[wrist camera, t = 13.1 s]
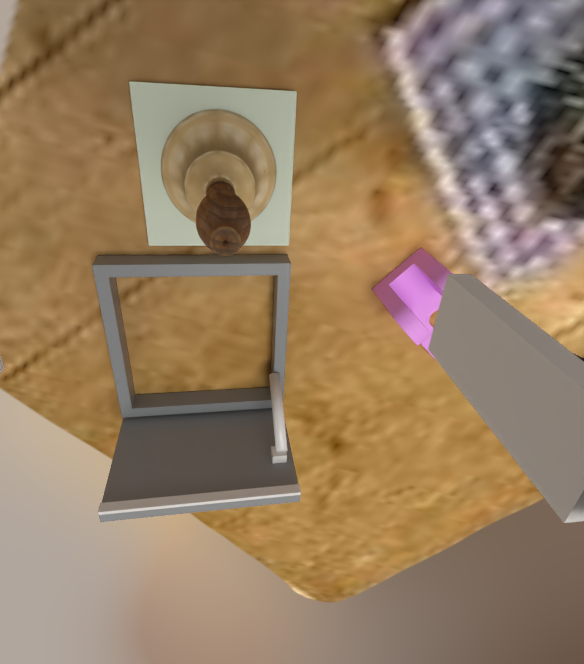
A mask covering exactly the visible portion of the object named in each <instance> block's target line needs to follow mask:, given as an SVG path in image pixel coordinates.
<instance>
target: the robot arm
mask: <svg viewBox="0 0 584 664" xmlns="http://www.w3.org/2000/svg"><path fill="white" fill-rule="evenodd" d="M428 350H429V351H430V353H431V354H432V355H433V356H434V358H435V359H436V360H437V361H438V363H439V364H440V365H441V367H442V368H443V369H444V370H445V372H446V373H447V374H448V376H449V377H450V378H451V379H452V381H453V382H454V383H455V384H456V386H457V387H458V388H459V390H460V391H461V392H462V393H463V395H464V396H465V397H466V399H467V400H468V401H469V402H470V404H471V405H472V406H473V407H474V409H475V410H476V411H477V413H478V414H479V415H480V416H481V418H482V419H483V420H484V422H485V423H486V424H487V425H488V427H489V428H490V429H491V430H492V432H493V433H494V434H495V436H496V437H497V438H498V439H499V441H500V442H501V443H502V445H503V446H504V447H505V448H506V450H507V451H508V452H509V453H510V455H511V456H512V457H513V459H514V460H515V461H516V462H517V464H518V465H519V466H520V468H521V469H522V470H523V471H524V473H525V474H526V475H527V476H528V478H529V479H530V480H531V482H532V483H533V484H534V485H535V487H536V488H537V489H538V491H539V492H540V493H541V494H542V496H543V497H544V498H545V499H546V501H547V502H548V503H549V505H550V506H551V507H552V508H553V509H554V511H555V512H556V514H557V515H558V516H559V517H560V519H561V520H562V521H563V522H564V523H569V522H577V521H584V359H583V358H581V357H579V356H578V355H576V354H574V353H572V352H571V351H569V350H568V349H567V348H565V347H564V346H563V345H562V344H560V343H559V342H558V341H556V340H555V339H554V338H553V337H551V336H550V335H549V334H547V333H546V332H545V331H544V330H542V329H541V328H540V327H538V326H537V325H536V324H535V323H533V322H532V321H531V320H529V319H528V318H527V317H525V316H524V315H523V314H522V313H520V312H519V311H518V310H516V309H515V308H514V307H513V306H511V305H510V304H509V303H507V302H506V301H505V300H504V299H502V298H501V297H500V296H498V295H497V294H496V293H495V292H493V291H492V290H491V289H489V288H488V287H487V286H486V285H484V284H483V283H482V282H480V281H479V280H478V279H476V278H475V277H474V276H473V275H471V274H448V275H447V279H446V283H445V286H444V290H443V294H442V298H441V302H440V305H439V309H438V313H437V317H436V321H435V325H434V328H433V332H432V336H431V340H430V344H429V348H428ZM4 368H5V366H4V363H3V361H2V358H1V355H0V373H1V372H2V371H3V369H4Z"/></svg>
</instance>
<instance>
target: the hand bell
mask: <svg viewBox="0 0 584 664" xmlns="http://www.w3.org/2000/svg"><path fill="white" fill-rule="evenodd" d="M161 175H162V181H163V185H164V188H165V190H166V192H167V195H168V196H169V198H170V200H171V201H172V203H173V204H174V206H175V207H176V208H177V209H178V210H179V211H180V212H181V213H182V214H183V215H184V216H185V217H187V218H188V219H190V220H191V221H193V222H195V223H196V229H197V232H198V235H199V237H200V239H201V240H202V241H203V243H204V244H205V245H206V246H207V247H208V248H210V249H211V250H213V251H214V252H215V253H216V254H218V255H221V256H231V255H233V254H235V253H236V252H237V251H238V250H239V248H241V247H242V246H243V245H244V244H245V242H246V241H247V239H248V237H249V234H250V230H251V221H252V220H254V219H255V218H256V217H257V216H258V215H259V214H260V213H261V212H262V211H263V210H264V209H265V208H266V206H267V205H268V203H269V201H270V199H271V197H272V195H273V192H274V189H275V184H276V175H277V171H276V161H275V157H274V153H273V151H272V148H271V146H270V144H269V142H268V140H267V139H266V137H265V136H264V134H263V133H262V132H261V131H260V130H259V128H257V127H256V126H255V125H254V124H253V123H252V122H251V121H249V120H248V119H246V118H245V117H243V116H241V115H239V114H237V113H234V112H231V111H226V110H218V109H215V110H204V111H200V112H198V113H194V114H192V115H190V116H188V117H187V118H185V119H184V120H182V121H181V122H180V123H179V124H178V125H177V126H176V127H175V128H174V129H173V131H172V132H171V133H170V135H169V136H168V138H167V140H166V142H165V145H164V148H163V151H162V156H161Z"/></svg>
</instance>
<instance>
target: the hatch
mask: <svg viewBox="0 0 584 664" xmlns="http://www.w3.org/2000/svg"><path fill="white" fill-rule="evenodd" d="M92 267H93V272H94V277H95V282H96V287H97V292H98V297H99V303H100V308H101V313H102V318H103V323H104V328H105V333H106V338H107V343H108V349H109V354H110V359H111V364H112V369H113V374H114V379H115V384H116V389H117V394H118V400H119V405H120V410H121V415H122V418H123V422H122V426H121V430H120V433H119V437H118V441H117V445H116V449H115V453H114V457H113V461H112V465H111V469H110V473H109V476H108V480H107V484H106V488H105V492H104V496H103V500H102V503H100V506H99V510H98V515H99V518H100V522H104V521H115V520H125V519H134V518H144V517H153V516H163V515H173V514H182V513H193V512H202V511H212V510H222V509H232V508H241V507H251V506H261V505H271V504H280V503H290V502H300V495H301V491H300V487H299V484H298V481H297V476H296V471H295V467H294V462H293V457H292V452H291V448H290V443H289V438H288V434H287V429H286V424H285V419H284V410H283V394H284V376H285V359H286V341H287V323H288V305H289V288H290V270H291V263H290V260H289V258H288V255H231V256H221V255H101V256H98V257H97V258H96V260H95V261H94V263H93V265H92ZM250 275H275V278H274V305H273V333H272V360H271V374H270V375H269V379H270V387H264V388H246V389H228V390H211V391H193V392H176V393H158V394H141V395H135V391H134V385H133V379H132V373H131V367H130V361H129V355H128V349H127V343H126V337H125V331H124V325H123V320H122V314H121V308H120V302H119V296H118V290H117V284H116V278H115V277H175V276H250Z"/></svg>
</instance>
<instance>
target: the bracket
mask: <svg viewBox="0 0 584 664" xmlns="http://www.w3.org/2000/svg"><path fill="white" fill-rule="evenodd" d="M448 274H452V273H451V272H450V271H449V270H448V269H447V268H445V267H444V266H443V265H442V264H441V263H439V262H438V261H437V260H436V259H435V258H433V257H432V256H431V255H430V254H429V253H427V252H426V251H425V250H424V249H423V248H420V249H418V250H417V251H416V252H415V253H414V254H413V255H411V256H410V257H409V258H408V259H407V260H405V261H404V262H403V263H402V264H401V265H400V266H398V267H397V268H396V269H395V270H394V271H392V272H391V273H390V274H389V275H388V276H387V277H385V278H384V279H383V280H382V281H381V282H379V283H378V284H377V285H376V286H375V287H374V288H372V290H373V291H374V292H375V294H376V295H377V296H378V298H379V299H380V301H381V302H382V303H383V305H384V306H385V307H386V309H387V310H388V311H389V313H390V314H391V315H392V317H393V318H394V319H395V320H396V322H397V323H398V324H399V325H400V327H401V328H402V329H403V330H404V331H405V332H406V334H407V335H408V336H409V337H410V338H411V339H412V340H413V341H414V342H415V343H416V344H417V345H419V344H422V346H423V347H424V348H425V349H426V350H427V351H428V352H429V353H430V351H429V350H428V348H429V344H430V340H431V336H432V332H433V327H432V326H431V325H430V323H429V318H430V316H431V314H432V313H433V312H435V311H437V310H438V309H439V305H440V302H441V298H442V294H443V290H444V286H445V283H446V279H447V275H448ZM430 354H431V353H430ZM431 355H432V354H431ZM432 356H433V355H432ZM433 358H434V356H433ZM434 359H435V358H434ZM435 360H436V359H435Z"/></svg>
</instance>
